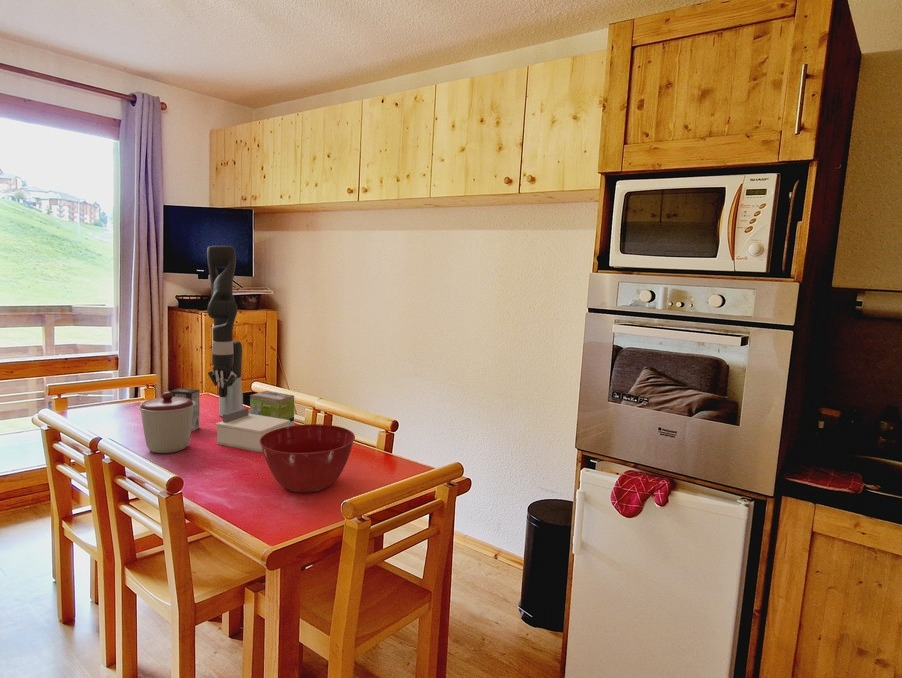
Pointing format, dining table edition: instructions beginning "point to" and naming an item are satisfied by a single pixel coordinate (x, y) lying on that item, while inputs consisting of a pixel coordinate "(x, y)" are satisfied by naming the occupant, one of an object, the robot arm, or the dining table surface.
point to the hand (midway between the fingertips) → (223, 396)
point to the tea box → (273, 405)
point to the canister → (167, 422)
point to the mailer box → (242, 438)
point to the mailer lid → (250, 421)
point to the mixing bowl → (307, 455)
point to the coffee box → (194, 396)
